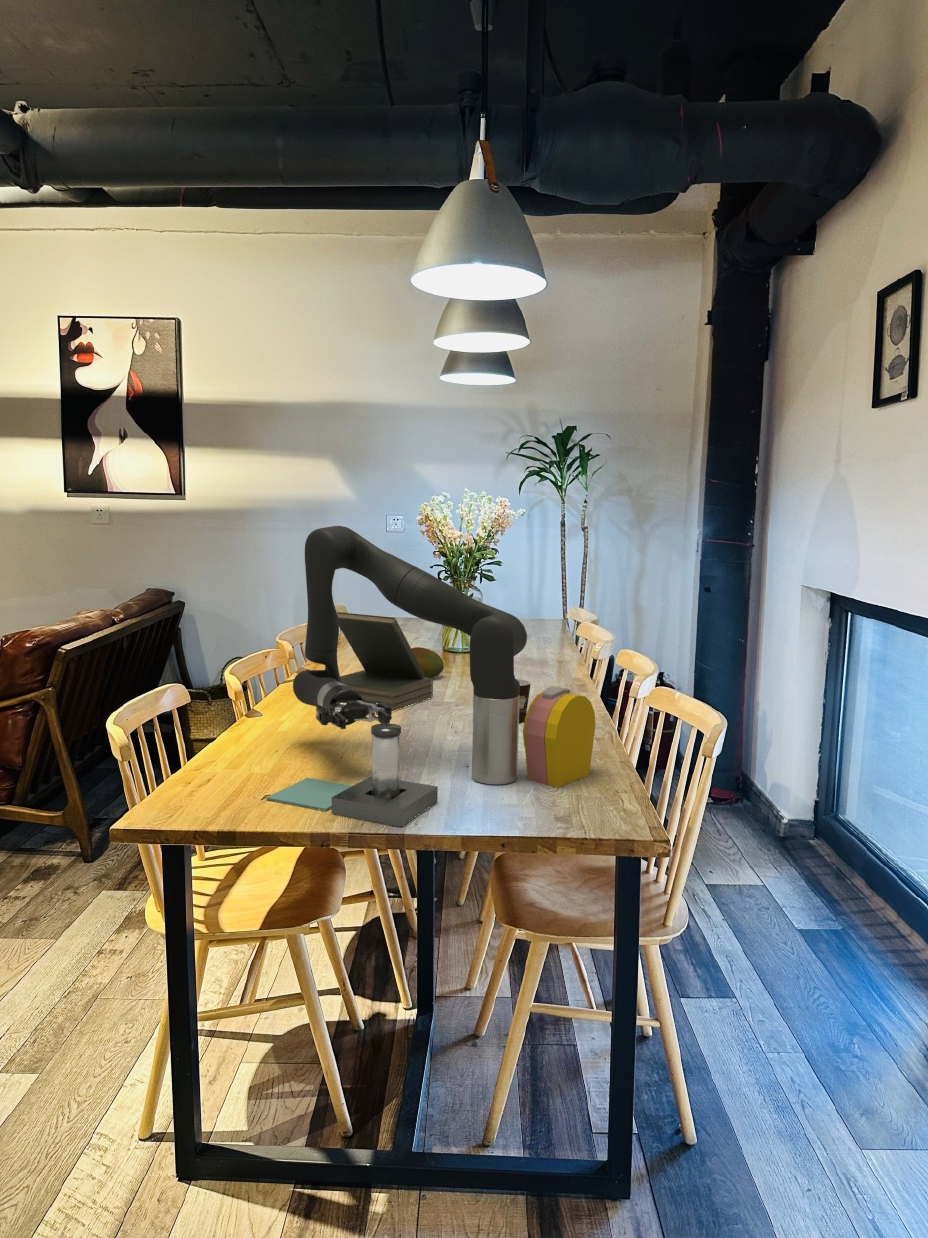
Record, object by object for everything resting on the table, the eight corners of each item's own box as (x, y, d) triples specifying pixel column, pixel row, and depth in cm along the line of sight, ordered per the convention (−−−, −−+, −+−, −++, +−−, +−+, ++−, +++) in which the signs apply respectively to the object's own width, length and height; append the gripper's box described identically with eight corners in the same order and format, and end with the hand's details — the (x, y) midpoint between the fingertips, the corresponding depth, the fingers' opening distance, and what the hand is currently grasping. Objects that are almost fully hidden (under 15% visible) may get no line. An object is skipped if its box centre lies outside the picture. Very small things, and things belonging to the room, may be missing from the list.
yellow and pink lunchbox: (560, 764, 184) (563, 680, 182) (593, 772, 179) (597, 685, 176) (519, 780, 173) (522, 691, 170) (553, 789, 167) (556, 697, 165)
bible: (433, 699, 244) (434, 612, 240) (393, 713, 227) (393, 619, 224) (367, 689, 255) (368, 606, 252) (325, 702, 238) (324, 612, 235)
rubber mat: (307, 780, 170) (307, 777, 170) (363, 790, 165) (363, 787, 165) (266, 800, 159) (266, 797, 159) (325, 811, 153) (325, 808, 153)
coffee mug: (527, 716, 225) (528, 678, 224) (531, 724, 217) (532, 685, 215) (483, 715, 225) (484, 678, 223) (485, 724, 216) (486, 685, 215)
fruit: (398, 676, 274) (398, 645, 273) (434, 673, 279) (434, 643, 278) (411, 683, 264) (411, 651, 262) (448, 680, 269) (449, 649, 268)
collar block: (371, 790, 165) (371, 775, 165) (437, 802, 159) (437, 786, 159) (331, 813, 152) (331, 797, 152) (401, 827, 147) (401, 810, 146)
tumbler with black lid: (380, 800, 159) (380, 722, 157) (405, 805, 157) (406, 725, 155) (365, 810, 154) (365, 728, 152) (391, 815, 152) (392, 732, 150)
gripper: (306, 686, 174) (329, 705, 160) (372, 682, 180) (401, 700, 166) (305, 723, 175) (329, 744, 161) (372, 717, 181) (400, 738, 167)
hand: (365, 722), depth 163 cm, fingers open, 8 cm apart
